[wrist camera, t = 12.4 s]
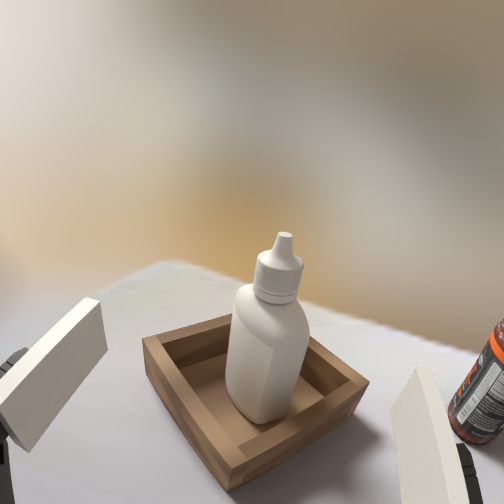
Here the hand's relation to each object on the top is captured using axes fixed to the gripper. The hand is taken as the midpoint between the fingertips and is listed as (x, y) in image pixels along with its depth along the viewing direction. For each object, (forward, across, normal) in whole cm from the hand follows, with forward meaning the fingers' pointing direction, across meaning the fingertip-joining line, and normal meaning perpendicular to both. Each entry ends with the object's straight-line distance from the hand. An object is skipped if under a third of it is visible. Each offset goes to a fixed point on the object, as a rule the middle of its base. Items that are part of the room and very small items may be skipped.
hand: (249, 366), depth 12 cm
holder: (+6, 0, -9) cm, 11 cm away
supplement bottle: (+6, +19, -9) cm, 22 cm away
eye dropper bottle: (+6, 0, -9) cm, 11 cm away
